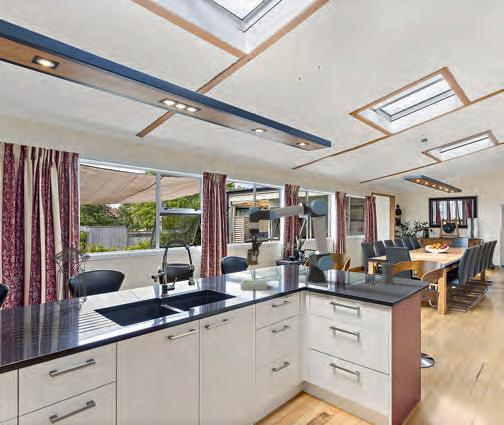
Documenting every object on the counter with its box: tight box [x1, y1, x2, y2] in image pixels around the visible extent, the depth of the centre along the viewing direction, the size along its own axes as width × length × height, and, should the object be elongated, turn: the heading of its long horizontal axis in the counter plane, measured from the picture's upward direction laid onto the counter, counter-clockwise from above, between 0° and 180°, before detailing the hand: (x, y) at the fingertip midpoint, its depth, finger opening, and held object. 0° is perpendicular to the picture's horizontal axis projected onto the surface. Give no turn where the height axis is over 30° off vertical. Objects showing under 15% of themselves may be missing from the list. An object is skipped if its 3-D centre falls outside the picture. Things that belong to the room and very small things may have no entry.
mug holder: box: [240, 279, 269, 291], centre depth 234 cm, size 19×14×4 cm
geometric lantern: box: [50, 246, 91, 312], centre depth 179 cm, size 16×16×35 cm
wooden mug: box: [245, 239, 263, 266], centre depth 235 cm, size 9×14×18 cm, turn 123°
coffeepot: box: [375, 259, 397, 285], centre depth 247 cm, size 15×9×18 cm, turn 44°
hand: (254, 259), depth 234 cm, fingers closed on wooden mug, 7 cm apart
